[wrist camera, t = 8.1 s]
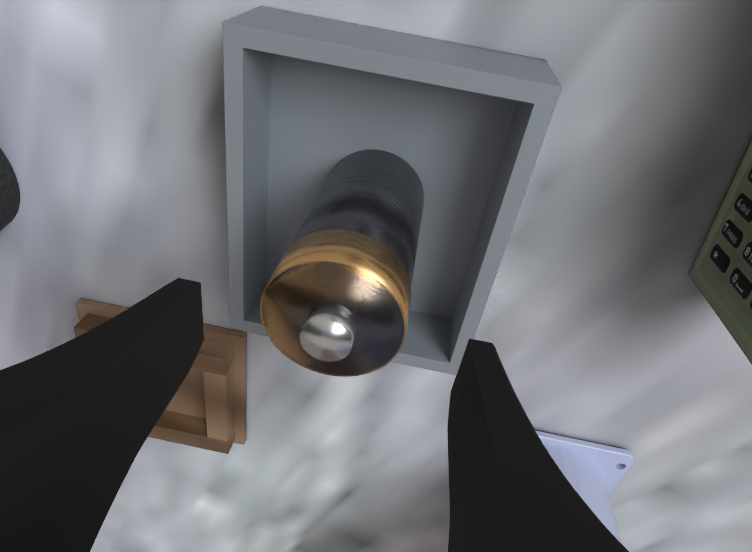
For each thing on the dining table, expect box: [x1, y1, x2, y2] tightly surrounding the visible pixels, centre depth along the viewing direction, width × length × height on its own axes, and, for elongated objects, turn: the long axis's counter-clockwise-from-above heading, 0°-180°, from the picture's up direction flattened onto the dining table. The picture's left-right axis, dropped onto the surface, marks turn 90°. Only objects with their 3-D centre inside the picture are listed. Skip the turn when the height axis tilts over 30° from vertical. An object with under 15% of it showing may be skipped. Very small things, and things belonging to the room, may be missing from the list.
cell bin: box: [223, 6, 562, 375], centre depth 20 cm, size 12×10×4 cm
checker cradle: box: [74, 298, 247, 454], centre depth 29 cm, size 9×9×2 cm
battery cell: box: [260, 149, 424, 376], centre depth 17 cm, size 4×4×9 cm
